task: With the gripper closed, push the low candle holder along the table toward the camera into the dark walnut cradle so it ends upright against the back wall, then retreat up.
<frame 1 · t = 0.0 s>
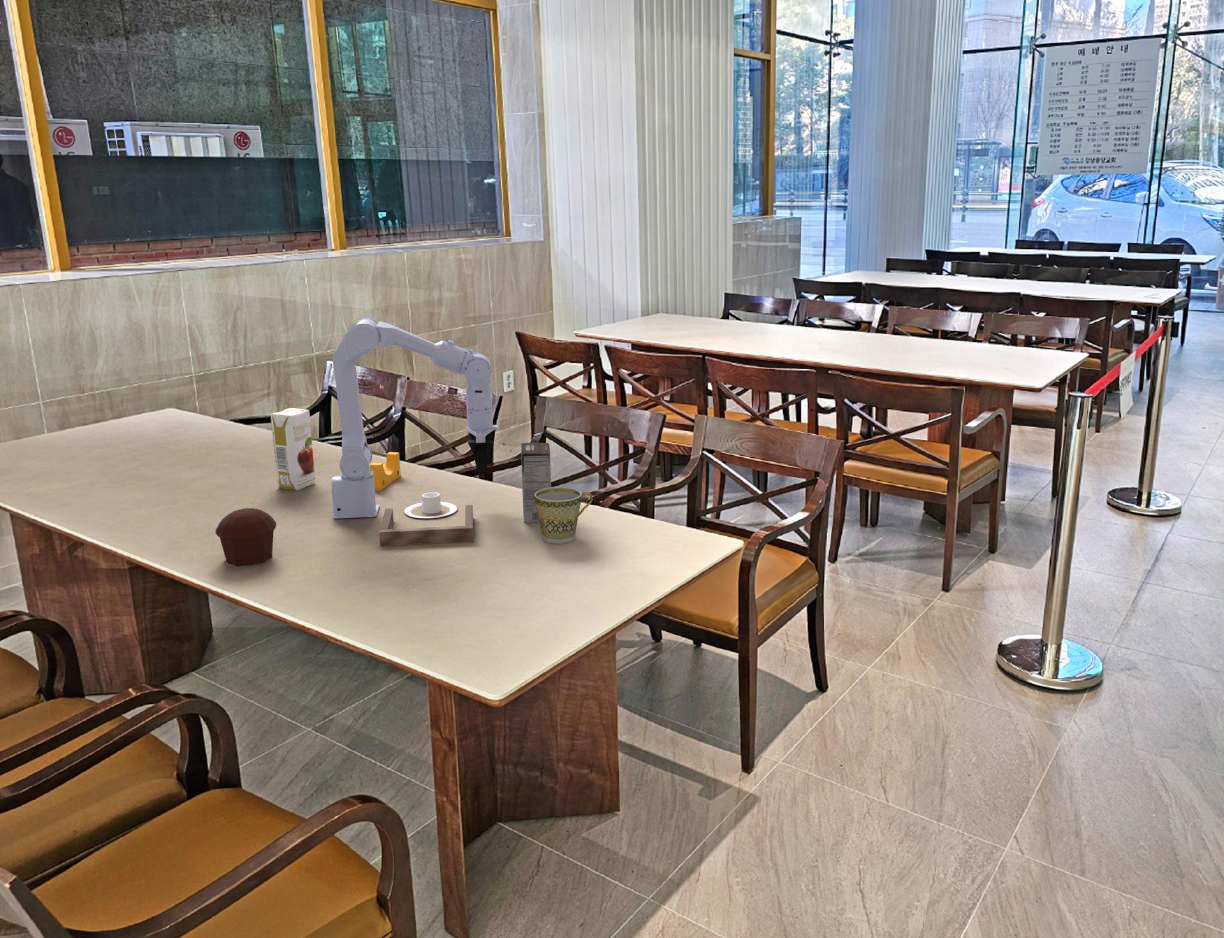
hand: (481, 465, 226), 10 cm above the table, tool pointing down, fingers open, 7 cm apart
ceramic cup: (565, 538, 209), on the table
coffee box: (537, 516, 222), on the table
yellow notched block: (383, 483, 248), on the table
juice carton: (297, 486, 245), on the table
walnut cradle: (428, 529, 214), on the table
muffin: (249, 559, 198), on the table
candle holder: (431, 513, 226), on the table
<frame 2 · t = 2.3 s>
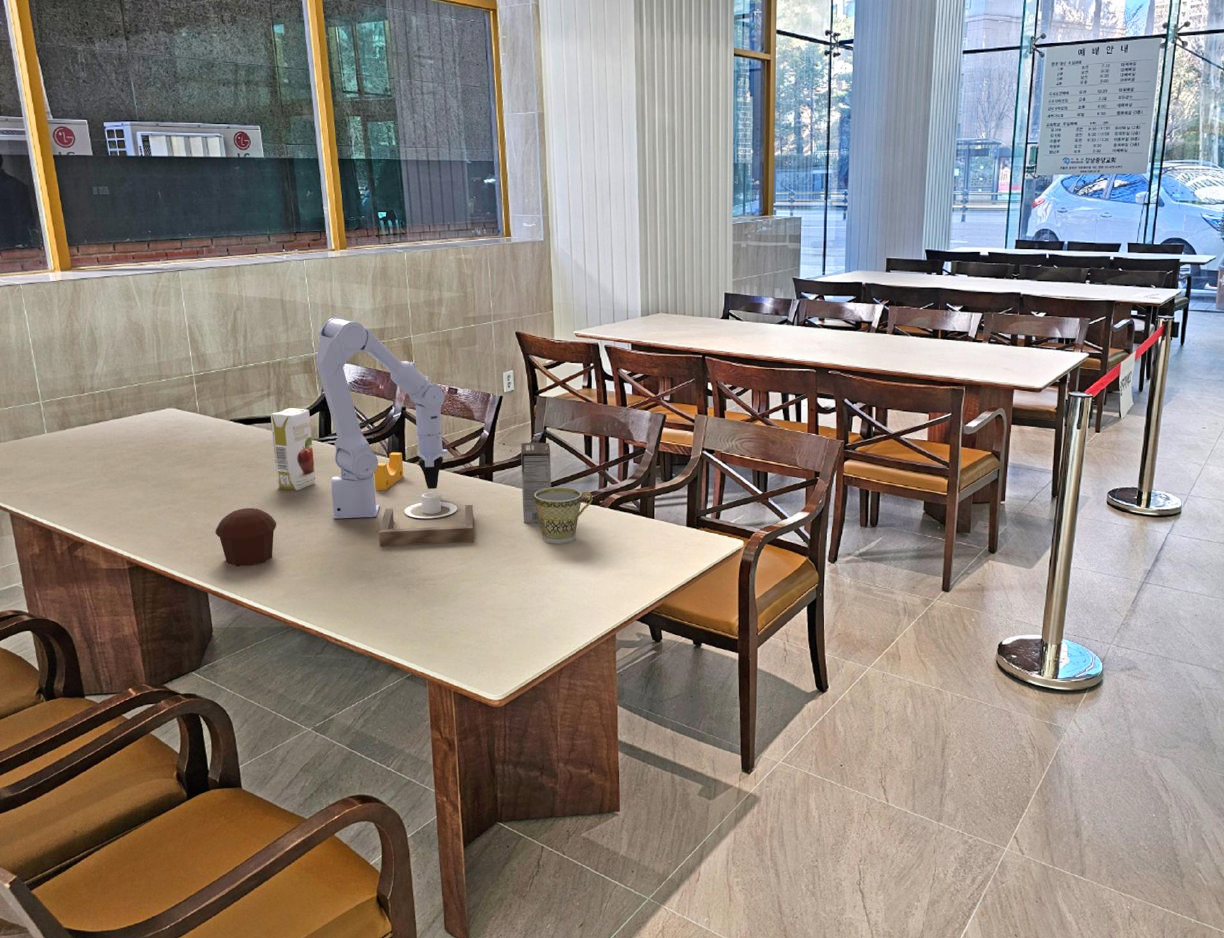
hand: (432, 487, 236), 2 cm above the table, tool pointing down, fingers closed
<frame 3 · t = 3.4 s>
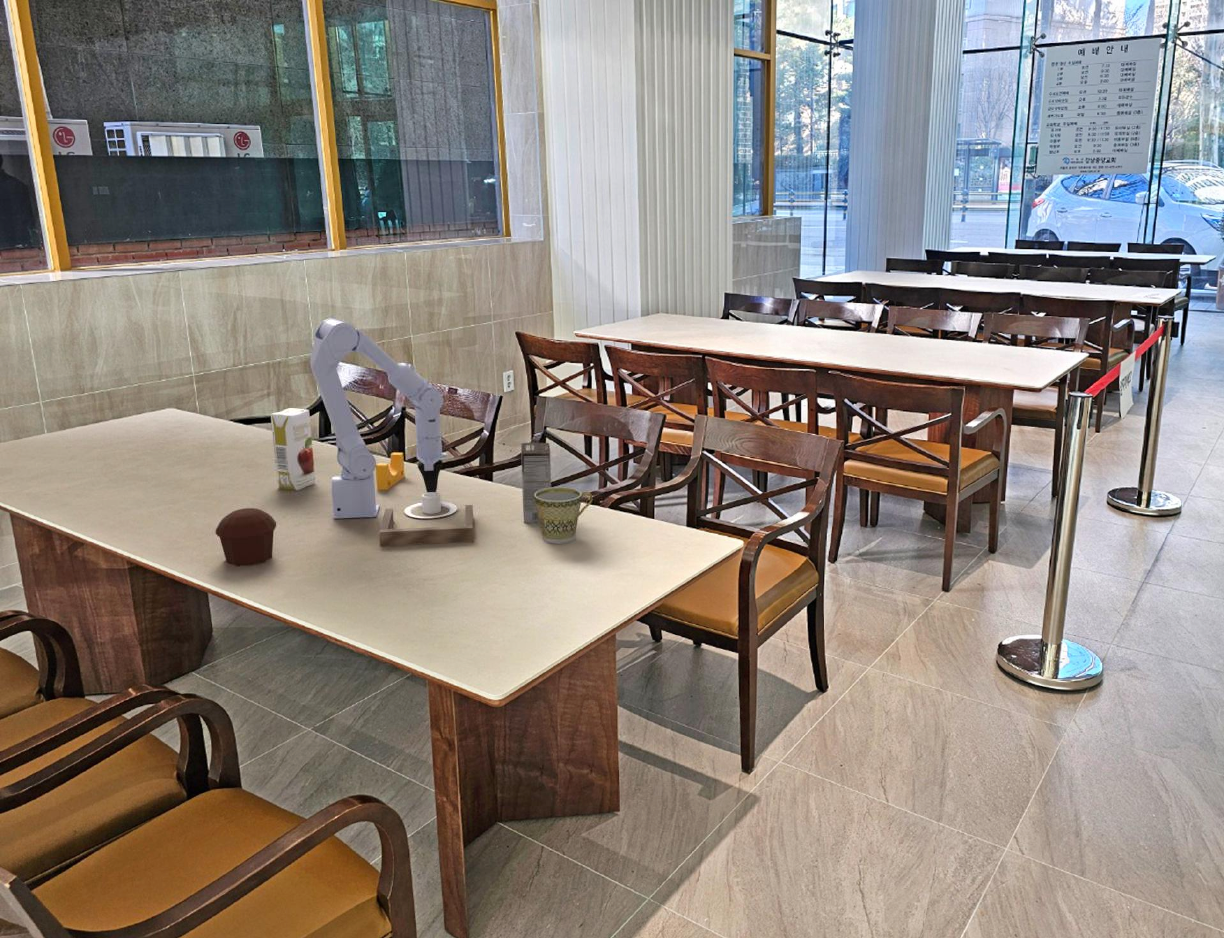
hand: (431, 491, 233), 2 cm above the table, tool pointing down, fingers closed
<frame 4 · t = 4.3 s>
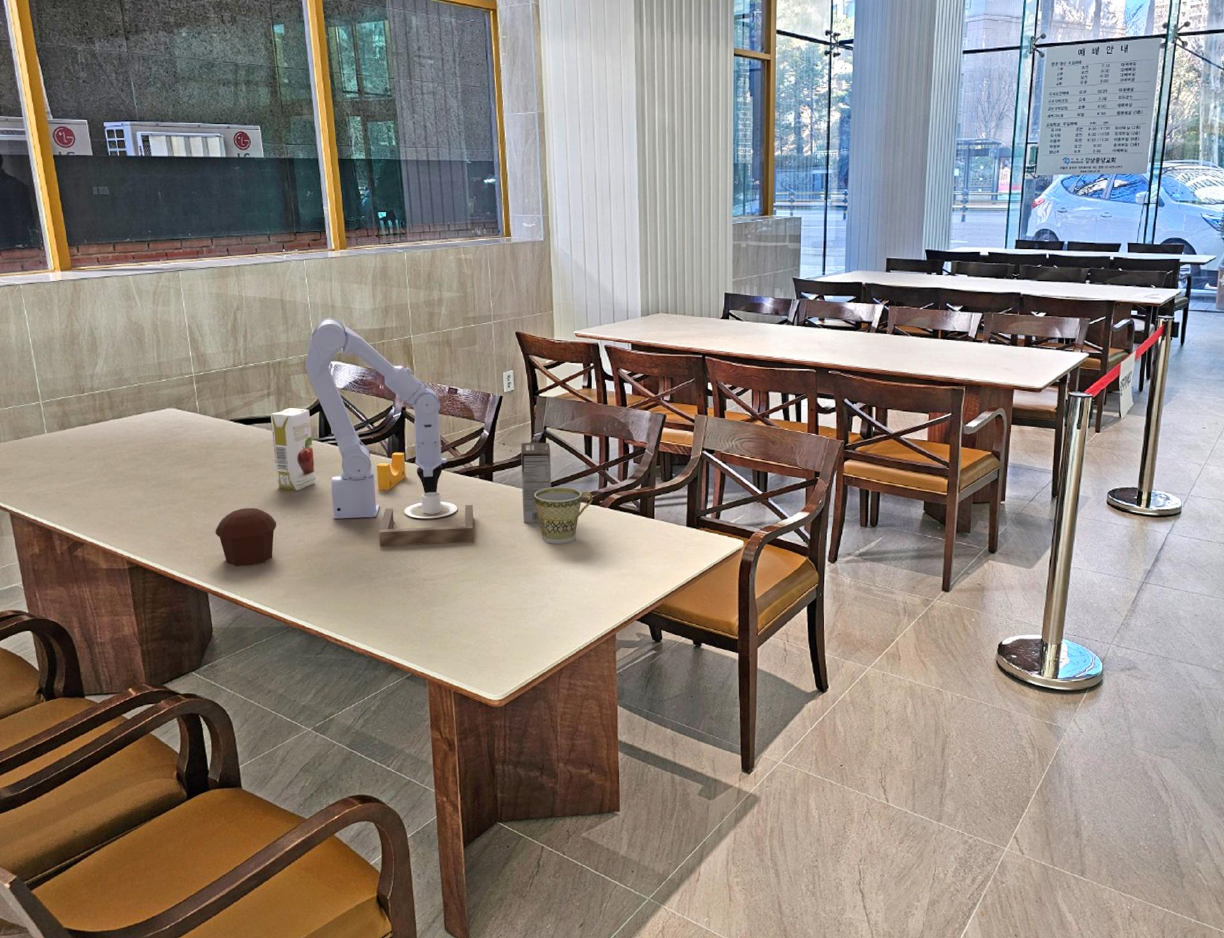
hand: (431, 497, 228), 2 cm above the table, tool pointing down, fingers closed
candle holder: (431, 513, 226), on the table, touching gripper
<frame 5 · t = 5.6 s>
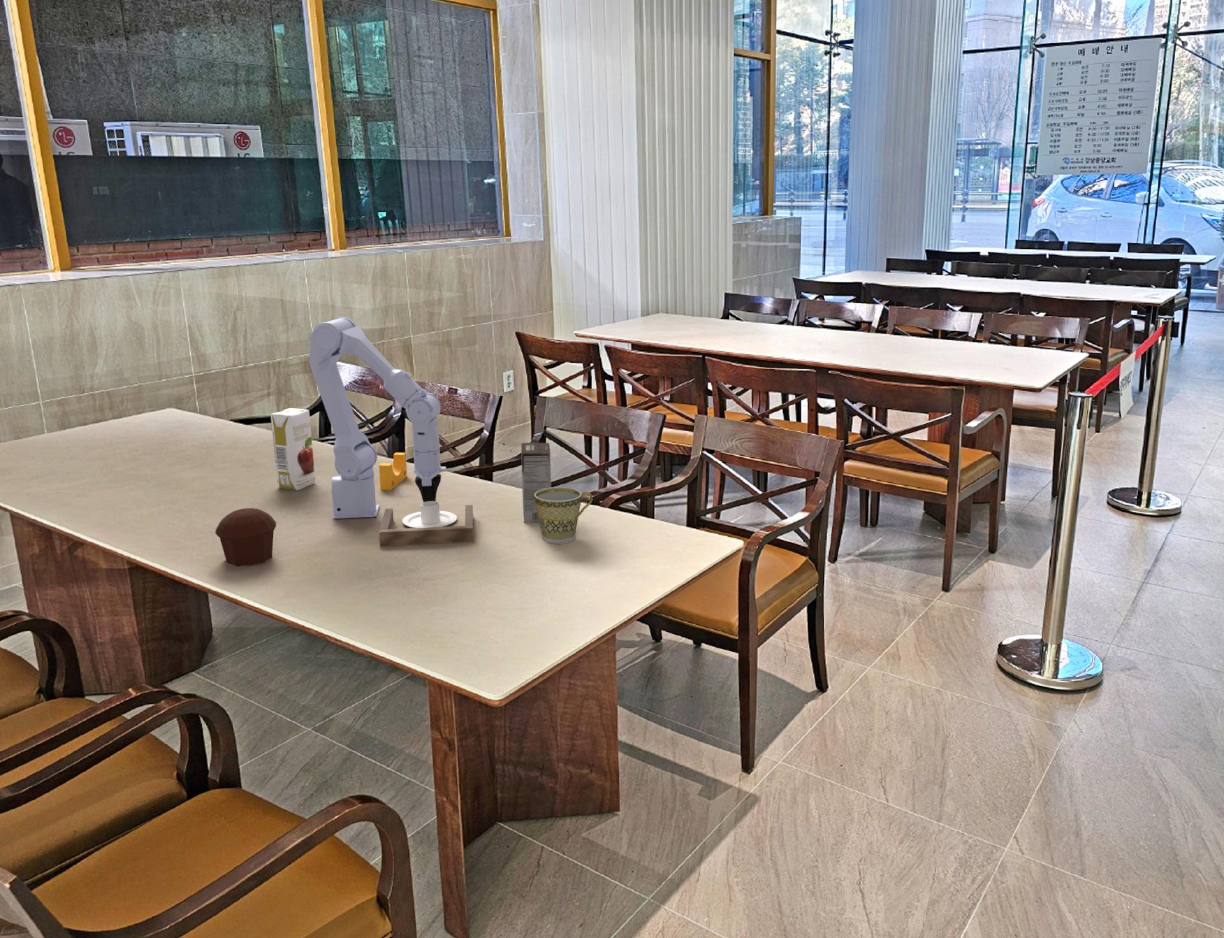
hand: (429, 507, 221), 2 cm above the table, tool pointing down, fingers closed
candle holder: (429, 523, 219), on the table, touching gripper
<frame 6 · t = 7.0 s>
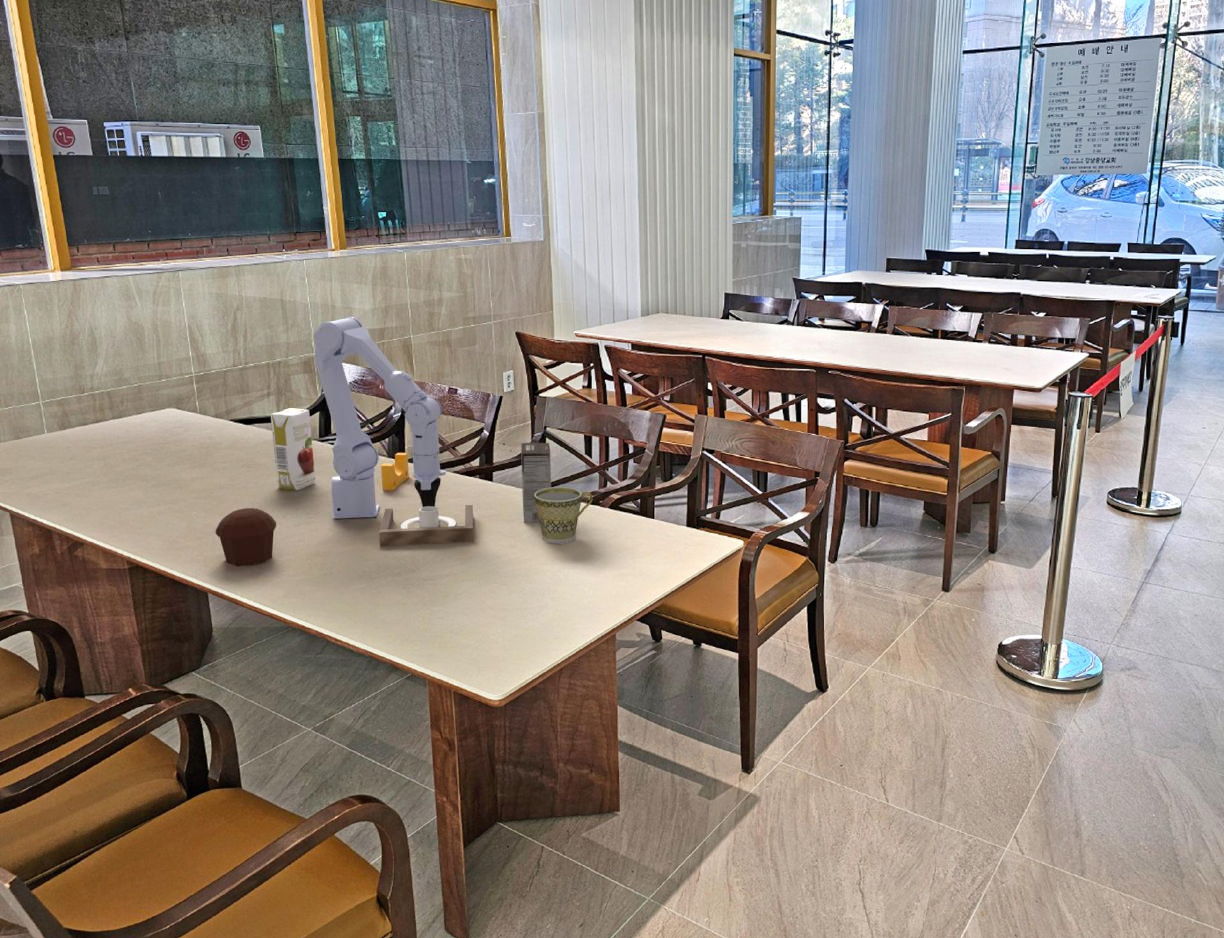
hand: (429, 511, 219), 2 cm above the table, tool pointing down, fingers closed
candle holder: (428, 528, 216), on the table, touching gripper
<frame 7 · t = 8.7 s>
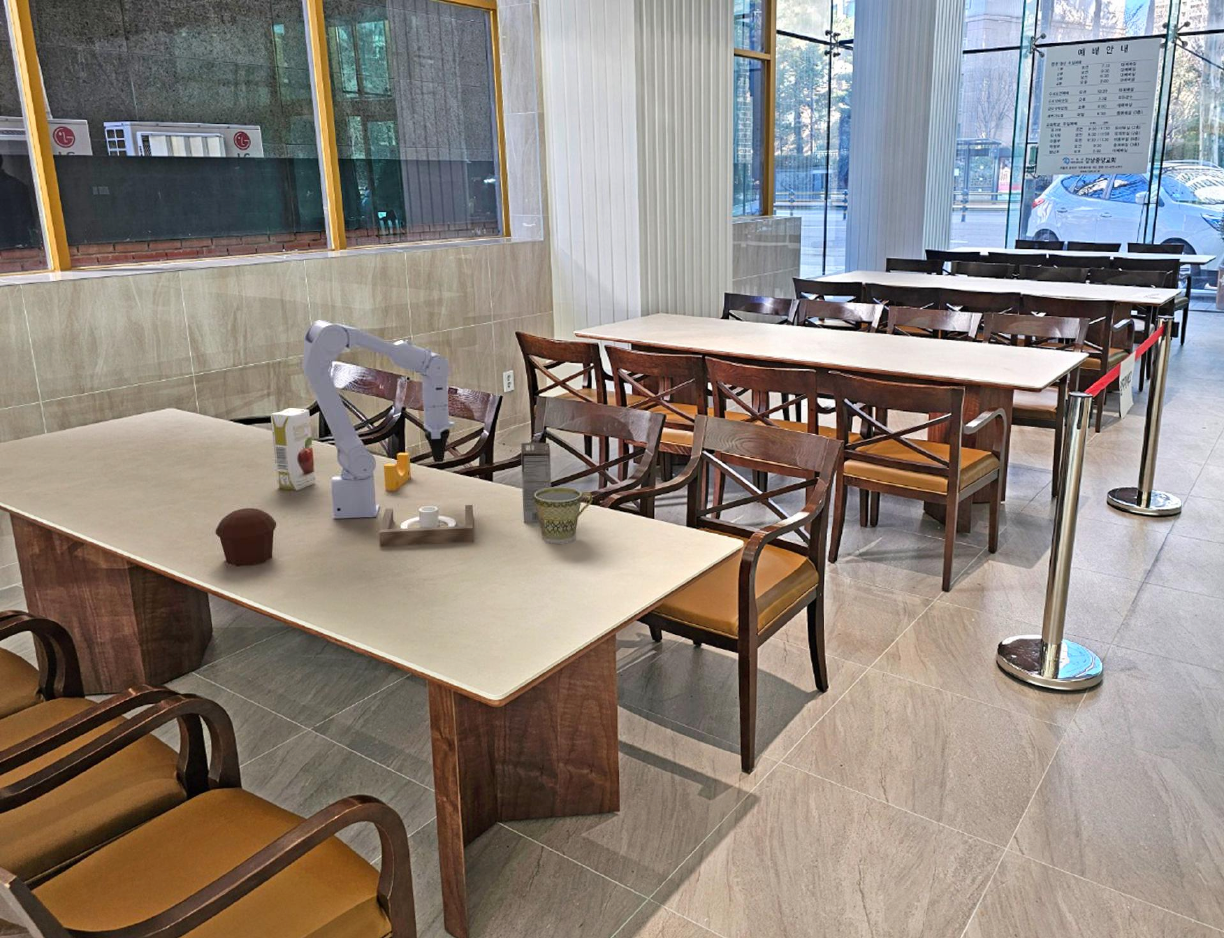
hand: (438, 461, 232), 9 cm above the table, tool pointing down, fingers closed
candle holder: (428, 528, 216), on the table
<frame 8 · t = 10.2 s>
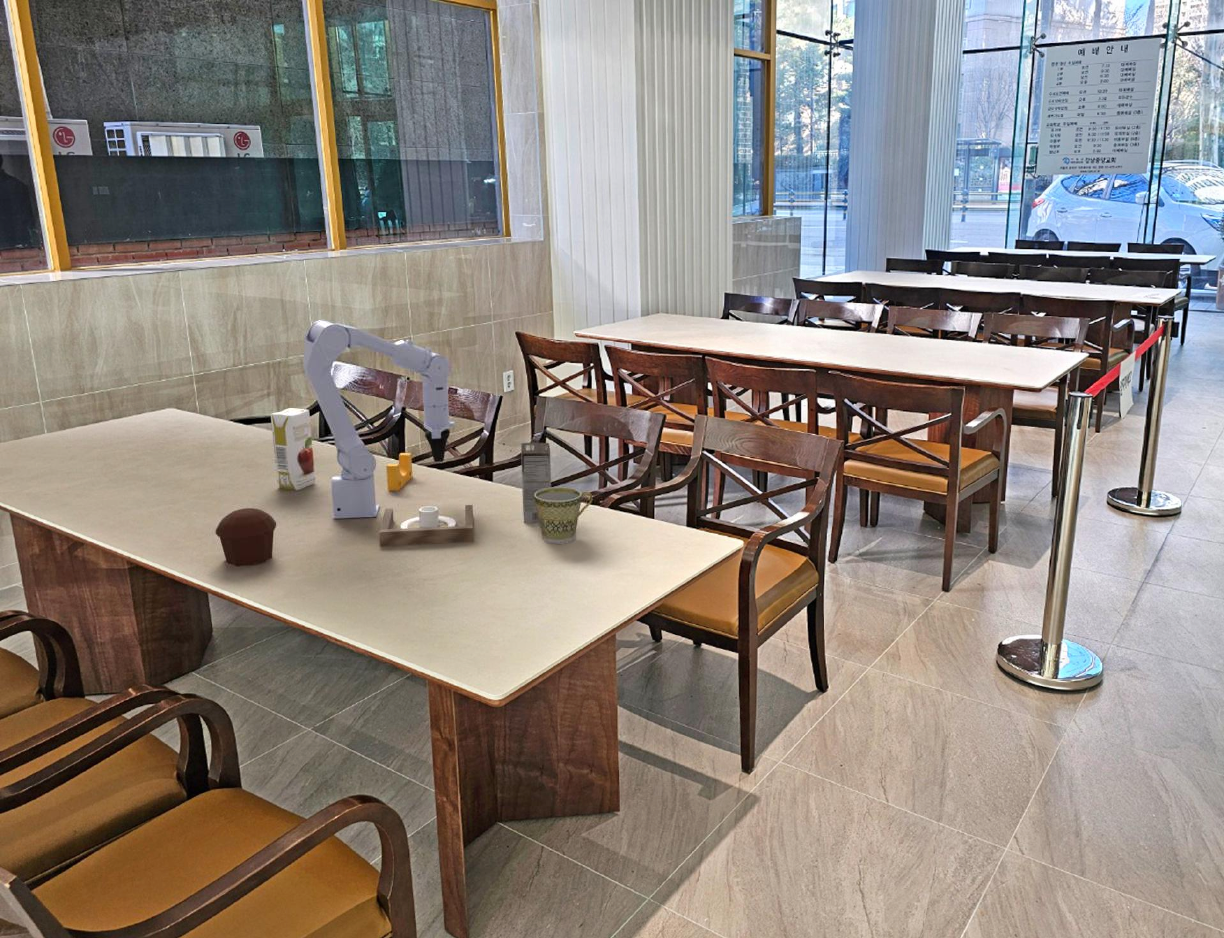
hand: (439, 460, 232), 9 cm above the table, tool pointing down, fingers closed
at the end: candle holder 2.7 cm off-centre on the walnut cradle, point -0.6 cm above the walnut cradle's base; candle holder tilted 0°; candle holder moved 10.3 cm from its start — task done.
